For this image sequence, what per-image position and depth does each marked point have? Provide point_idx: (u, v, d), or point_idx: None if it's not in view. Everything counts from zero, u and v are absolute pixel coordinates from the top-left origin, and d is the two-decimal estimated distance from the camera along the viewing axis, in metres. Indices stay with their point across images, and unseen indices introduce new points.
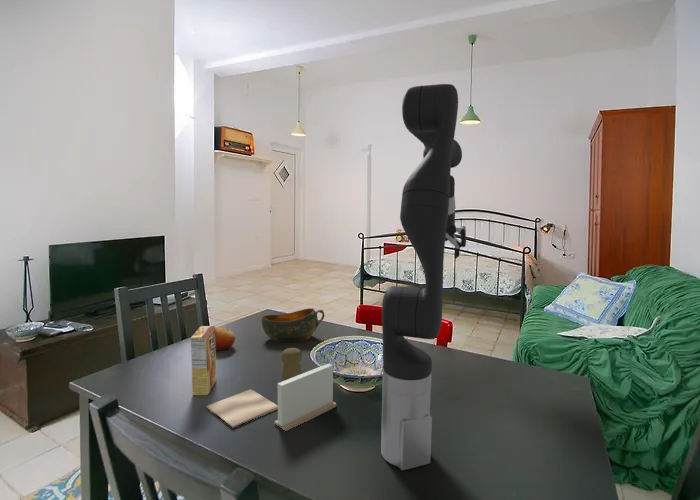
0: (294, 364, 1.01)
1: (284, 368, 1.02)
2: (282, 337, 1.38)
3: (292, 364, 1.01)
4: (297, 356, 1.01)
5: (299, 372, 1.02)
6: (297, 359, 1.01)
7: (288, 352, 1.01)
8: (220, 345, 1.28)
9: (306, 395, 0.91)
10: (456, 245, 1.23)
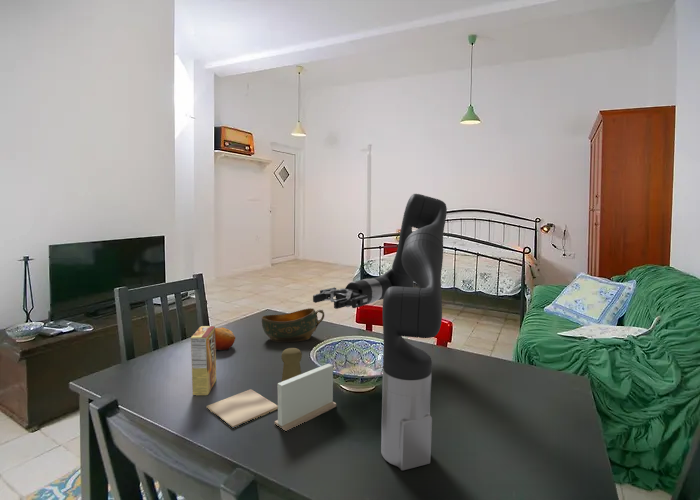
0: (294, 364, 1.01)
1: (284, 368, 1.02)
2: (282, 337, 1.38)
3: (292, 364, 1.01)
4: (297, 356, 1.01)
5: (299, 372, 1.02)
6: (297, 359, 1.01)
7: (288, 352, 1.01)
8: (220, 345, 1.28)
9: (306, 395, 0.91)
10: (348, 297, 1.10)
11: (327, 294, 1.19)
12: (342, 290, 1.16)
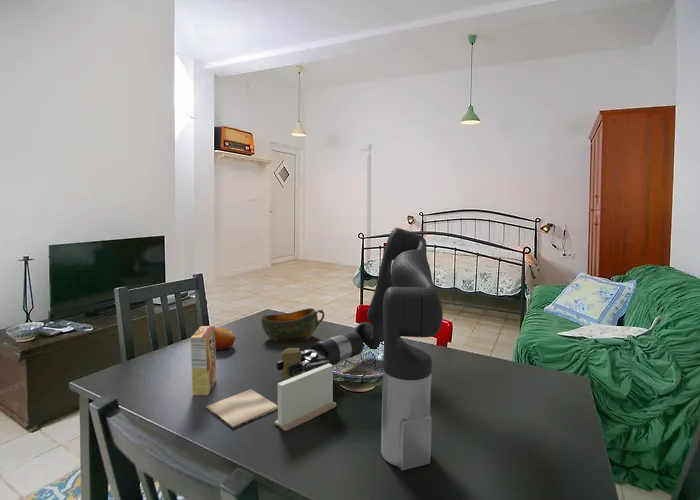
0: (294, 364, 1.01)
1: (284, 368, 1.02)
2: (282, 337, 1.38)
3: (292, 364, 1.01)
4: (297, 356, 1.01)
5: None
6: (297, 359, 1.01)
7: (288, 352, 1.01)
8: (220, 345, 1.28)
9: (306, 395, 0.91)
10: (304, 362, 1.03)
11: None
12: (308, 352, 1.08)
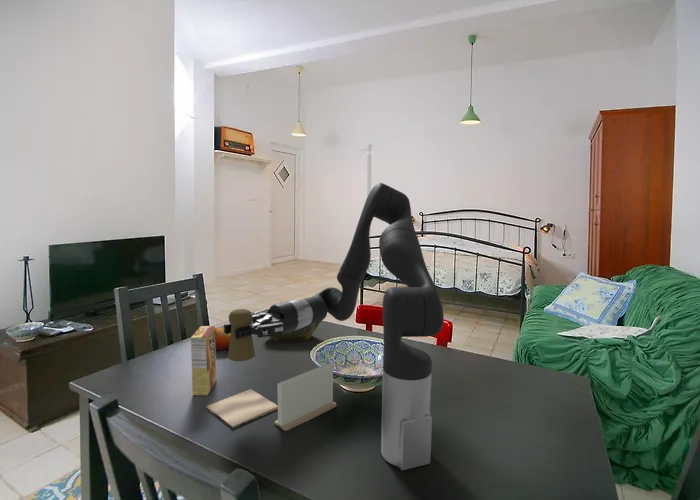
0: (243, 326, 0.90)
1: (231, 331, 0.91)
2: (282, 337, 1.38)
3: (240, 326, 0.90)
4: (245, 316, 0.90)
5: None
6: (246, 320, 0.90)
7: (235, 313, 0.90)
8: (220, 345, 1.28)
9: (306, 395, 0.91)
10: (254, 324, 0.92)
11: None
12: (262, 315, 0.97)
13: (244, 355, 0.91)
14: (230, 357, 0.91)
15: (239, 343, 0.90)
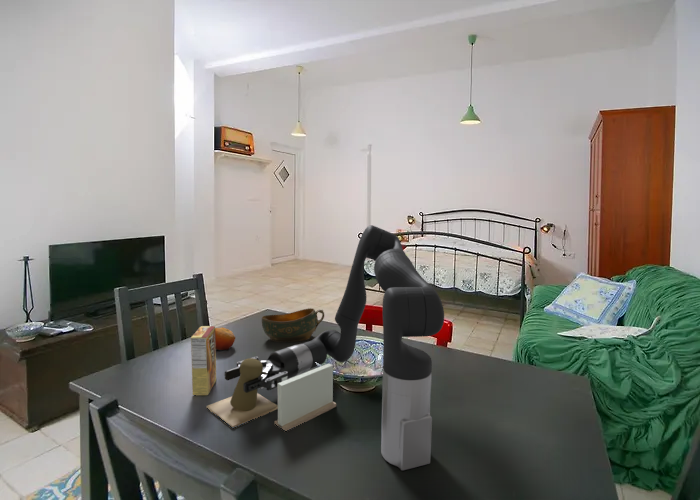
0: (252, 378, 0.91)
1: (240, 379, 0.92)
2: (282, 337, 1.38)
3: (249, 378, 0.91)
4: (257, 370, 0.91)
5: None
6: (256, 374, 0.91)
7: (248, 365, 0.91)
8: (220, 345, 1.28)
9: (306, 395, 0.91)
10: (263, 376, 0.93)
11: None
12: None
13: (246, 406, 0.92)
14: (232, 404, 0.92)
15: (244, 394, 0.91)
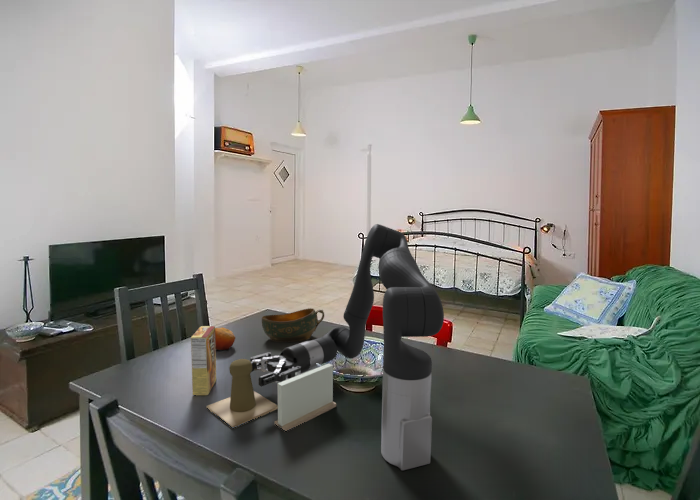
0: (243, 377, 0.92)
1: (232, 381, 0.93)
2: (282, 337, 1.38)
3: (240, 377, 0.92)
4: (246, 368, 0.92)
5: (249, 385, 0.93)
6: (246, 371, 0.92)
7: (235, 364, 0.92)
8: (220, 345, 1.28)
9: (306, 395, 0.91)
10: (277, 370, 0.96)
11: None
12: (275, 358, 1.02)
13: (245, 406, 0.92)
14: (231, 408, 0.93)
15: (239, 394, 0.92)
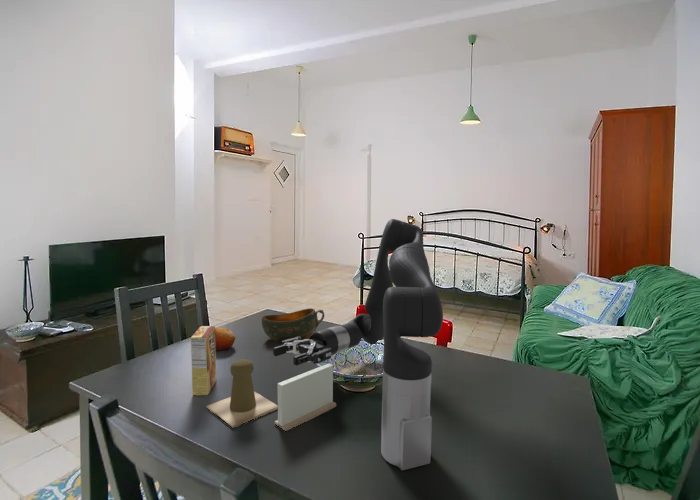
0: (244, 378, 0.92)
1: (233, 382, 0.93)
2: (282, 337, 1.38)
3: (241, 377, 0.92)
4: (247, 368, 0.92)
5: (250, 386, 0.93)
6: (247, 372, 0.92)
7: (236, 365, 0.92)
8: (220, 345, 1.28)
9: (306, 395, 0.91)
10: (310, 351, 1.02)
11: None
12: (305, 341, 1.08)
13: (245, 406, 0.92)
14: (231, 408, 0.93)
15: (240, 394, 0.92)
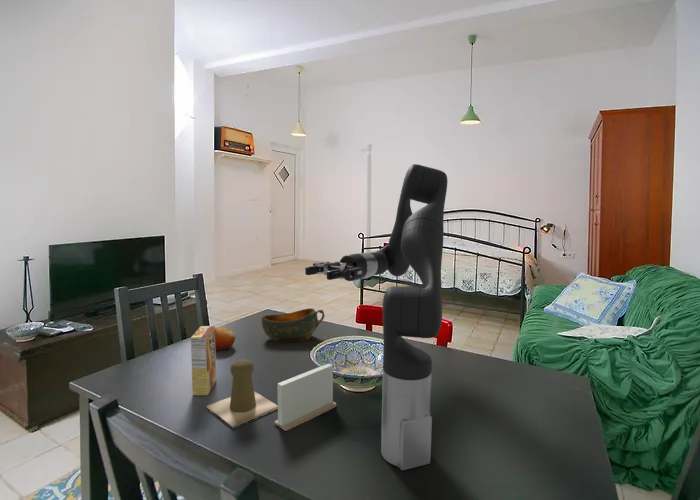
0: (244, 378, 0.92)
1: (233, 382, 0.93)
2: (282, 337, 1.38)
3: (241, 378, 0.92)
4: (247, 368, 0.92)
5: (250, 386, 0.93)
6: (247, 372, 0.92)
7: (237, 365, 0.92)
8: (220, 345, 1.28)
9: (306, 395, 0.91)
10: (341, 268, 1.05)
11: (320, 268, 1.14)
12: (336, 263, 1.11)
13: (245, 406, 0.92)
14: (231, 408, 0.93)
15: (240, 395, 0.92)
